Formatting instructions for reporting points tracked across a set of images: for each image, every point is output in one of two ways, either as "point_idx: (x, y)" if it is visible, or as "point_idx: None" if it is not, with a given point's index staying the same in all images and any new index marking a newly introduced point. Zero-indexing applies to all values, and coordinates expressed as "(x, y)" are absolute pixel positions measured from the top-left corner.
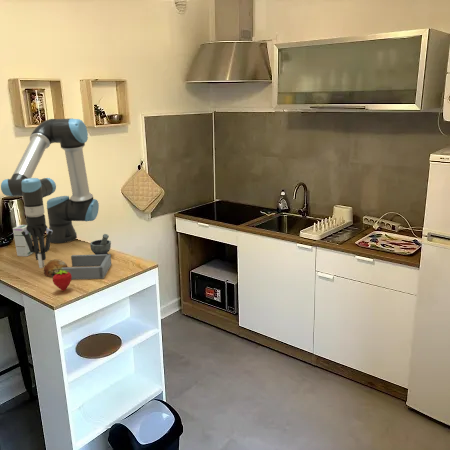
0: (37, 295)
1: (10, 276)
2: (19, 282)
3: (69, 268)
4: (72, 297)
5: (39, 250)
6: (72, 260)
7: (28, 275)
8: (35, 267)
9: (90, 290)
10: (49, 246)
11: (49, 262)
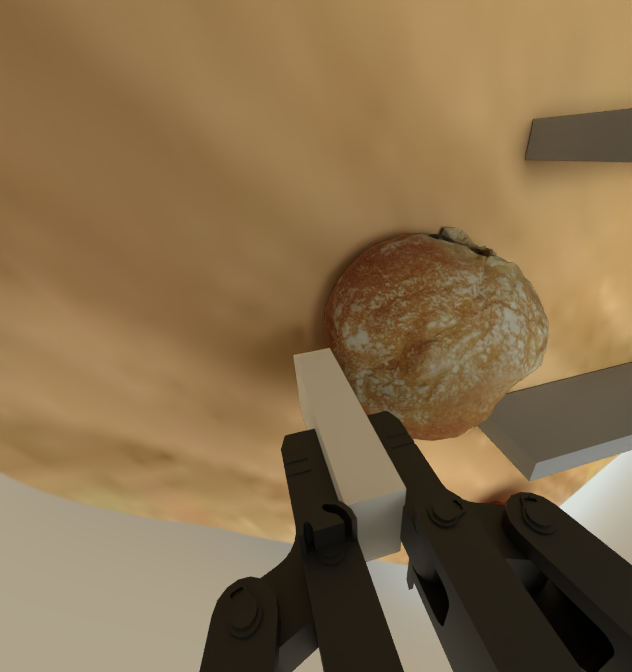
0: (393, 558)
1: (39, 447)
2: (216, 500)
3: (584, 464)
4: None
5: (356, 531)
6: (598, 159)
7: (199, 402)
8: (117, 196)
9: (590, 475)
10: (627, 571)
11: (430, 422)
